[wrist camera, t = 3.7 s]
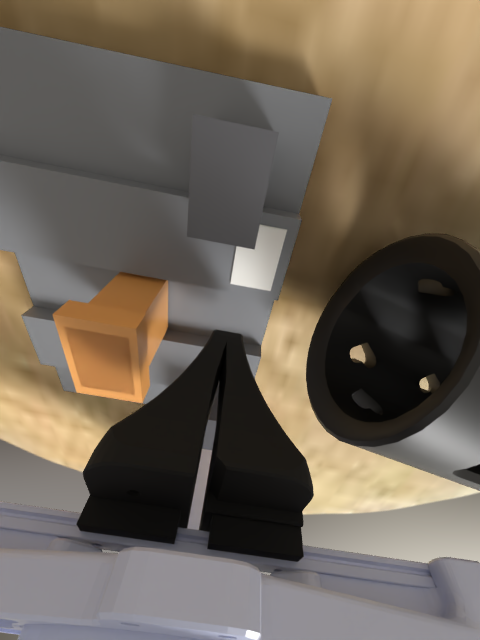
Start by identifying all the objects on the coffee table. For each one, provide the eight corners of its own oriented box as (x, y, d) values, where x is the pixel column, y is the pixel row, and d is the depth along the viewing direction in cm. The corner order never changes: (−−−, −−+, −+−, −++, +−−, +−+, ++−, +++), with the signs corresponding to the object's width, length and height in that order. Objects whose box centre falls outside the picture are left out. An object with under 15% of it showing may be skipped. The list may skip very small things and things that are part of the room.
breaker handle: (172, 334, 16) (142, 403, 12) (123, 326, 16) (76, 392, 12) (174, 270, 14) (136, 328, 9) (115, 259, 13) (52, 314, 9)
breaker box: (241, 398, 23) (236, 463, 18) (78, 371, 22) (31, 432, 18) (322, 103, 11) (363, 83, 7) (-19, 30, 10) (-230, -47, 6)
